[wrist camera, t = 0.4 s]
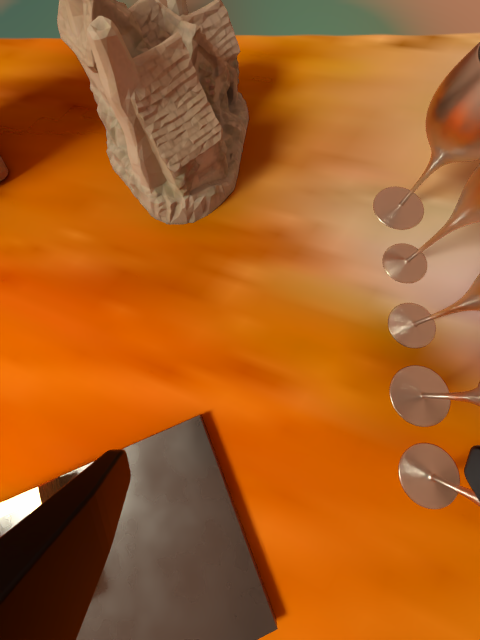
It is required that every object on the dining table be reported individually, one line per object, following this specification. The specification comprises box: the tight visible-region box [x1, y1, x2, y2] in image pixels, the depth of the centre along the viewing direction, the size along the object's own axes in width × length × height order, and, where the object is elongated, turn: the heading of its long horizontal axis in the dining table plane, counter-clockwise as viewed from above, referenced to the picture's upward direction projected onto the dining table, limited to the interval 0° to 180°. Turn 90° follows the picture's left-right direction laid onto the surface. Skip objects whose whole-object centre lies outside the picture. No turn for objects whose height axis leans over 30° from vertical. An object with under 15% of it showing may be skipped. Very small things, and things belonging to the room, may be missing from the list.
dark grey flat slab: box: [0, 415, 277, 640], centre depth 18 cm, size 14×20×3 cm
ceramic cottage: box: [57, 0, 249, 224], centre depth 22 cm, size 16×16×15 cm
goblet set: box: [373, 42, 480, 509], centre depth 17 cm, size 28×6×13 cm, turn 178°
